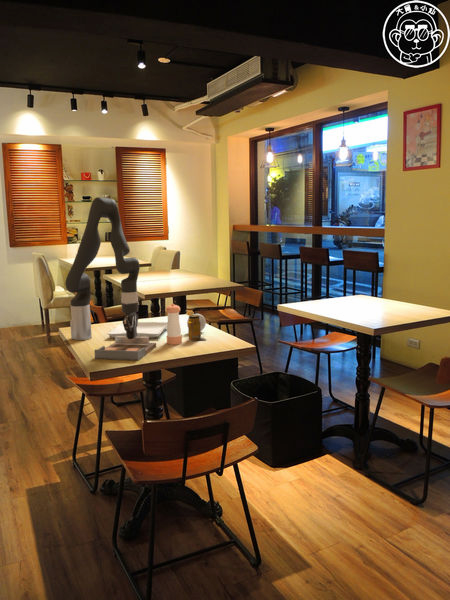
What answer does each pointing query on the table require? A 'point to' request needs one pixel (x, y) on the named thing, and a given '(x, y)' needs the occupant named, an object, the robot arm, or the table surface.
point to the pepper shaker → (173, 325)
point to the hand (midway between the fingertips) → (131, 337)
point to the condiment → (194, 328)
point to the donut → (202, 321)
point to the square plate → (142, 329)
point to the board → (133, 346)
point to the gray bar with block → (132, 341)
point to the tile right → (132, 349)
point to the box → (119, 354)
